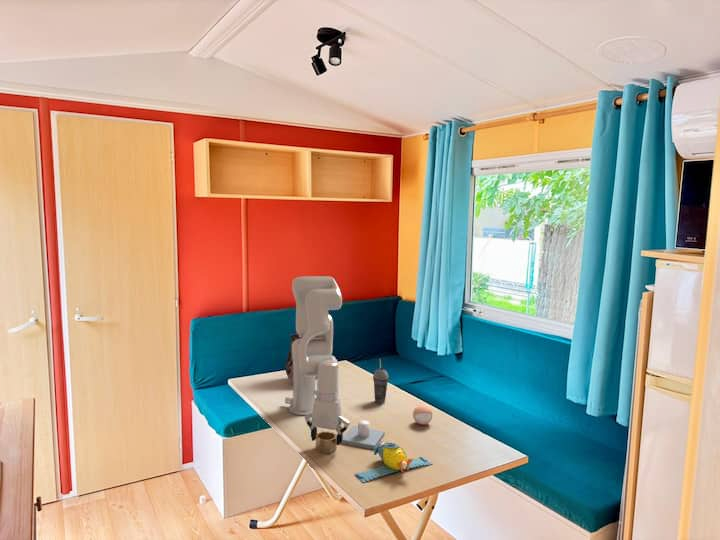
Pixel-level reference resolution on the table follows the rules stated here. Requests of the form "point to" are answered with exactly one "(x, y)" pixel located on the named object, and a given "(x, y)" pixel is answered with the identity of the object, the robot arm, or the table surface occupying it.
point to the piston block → (363, 436)
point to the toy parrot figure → (391, 461)
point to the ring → (326, 442)
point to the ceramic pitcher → (290, 358)
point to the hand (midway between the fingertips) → (326, 441)
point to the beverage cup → (380, 385)
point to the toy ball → (422, 414)
